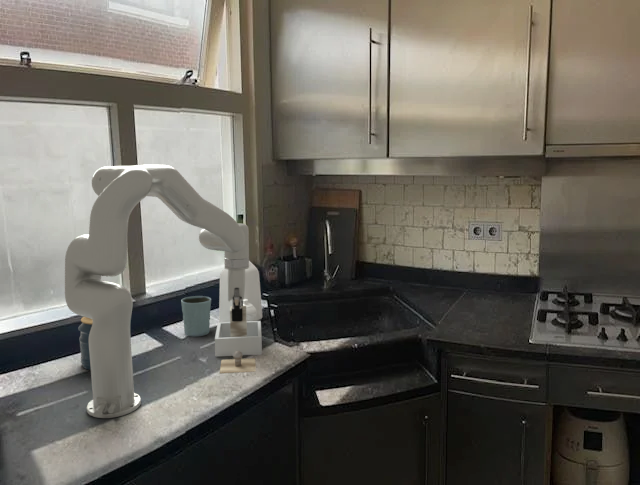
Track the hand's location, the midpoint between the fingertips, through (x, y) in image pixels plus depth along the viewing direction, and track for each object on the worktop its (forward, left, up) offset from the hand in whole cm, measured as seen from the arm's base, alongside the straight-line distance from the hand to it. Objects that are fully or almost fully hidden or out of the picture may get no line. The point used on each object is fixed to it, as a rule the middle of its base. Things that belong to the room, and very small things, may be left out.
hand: (237, 316), depth 169 cm
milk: (+32, 0, -12) cm, 34 cm away
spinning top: (+17, -2, -12) cm, 21 cm away
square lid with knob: (-16, 0, -11) cm, 19 cm away
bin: (0, 0, -11) cm, 11 cm away
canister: (-5, +40, -12) cm, 42 cm away
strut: (0, 0, -10) cm, 10 cm away
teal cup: (+20, +15, -12) cm, 28 cm away
